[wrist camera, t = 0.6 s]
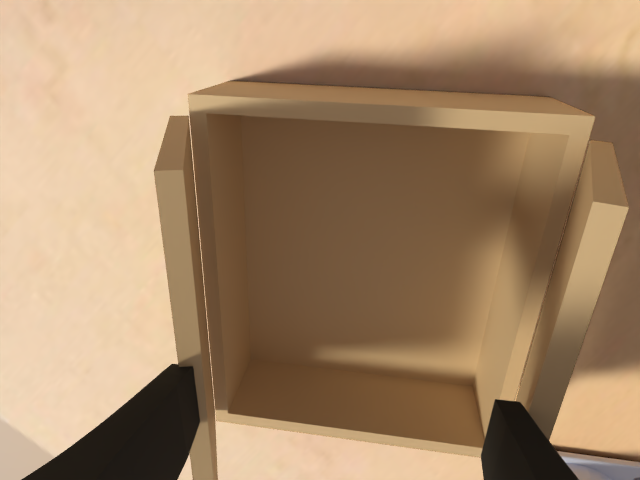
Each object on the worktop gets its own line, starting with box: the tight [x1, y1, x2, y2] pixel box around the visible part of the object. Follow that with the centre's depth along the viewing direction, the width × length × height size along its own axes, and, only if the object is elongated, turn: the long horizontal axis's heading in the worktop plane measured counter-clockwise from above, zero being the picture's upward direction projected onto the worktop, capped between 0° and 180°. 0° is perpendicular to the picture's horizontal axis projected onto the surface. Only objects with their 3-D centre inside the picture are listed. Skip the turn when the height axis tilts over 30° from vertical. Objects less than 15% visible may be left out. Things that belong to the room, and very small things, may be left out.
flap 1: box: [154, 116, 218, 480], centre depth 16 cm, size 6×14×1 cm
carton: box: [188, 81, 595, 458], centre depth 20 cm, size 15×13×4 cm
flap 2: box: [516, 140, 629, 440], centre depth 14 cm, size 6×14×1 cm
